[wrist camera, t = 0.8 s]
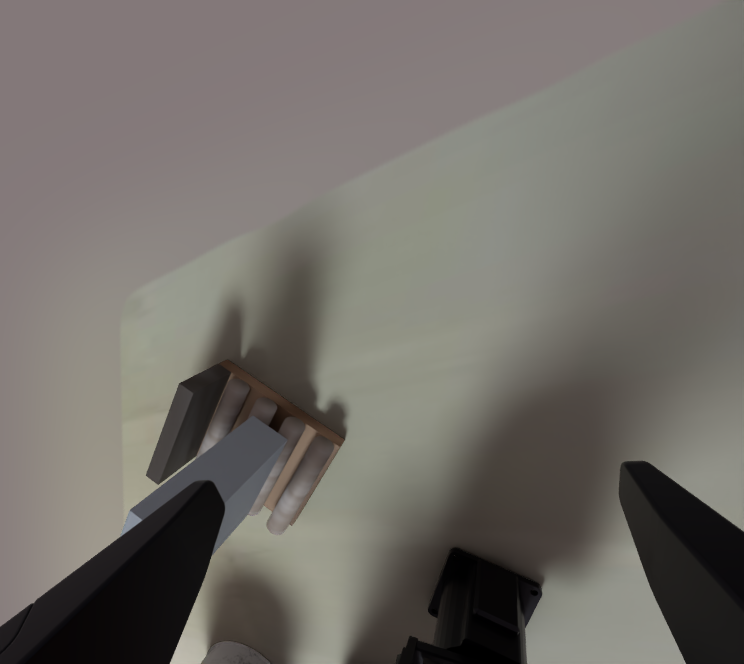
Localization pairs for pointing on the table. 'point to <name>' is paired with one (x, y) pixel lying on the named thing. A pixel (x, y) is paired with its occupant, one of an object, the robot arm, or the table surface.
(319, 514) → the table surface
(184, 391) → the roller track
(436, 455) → the table surface
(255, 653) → the speckled concrete cylinder
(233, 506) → the slab
